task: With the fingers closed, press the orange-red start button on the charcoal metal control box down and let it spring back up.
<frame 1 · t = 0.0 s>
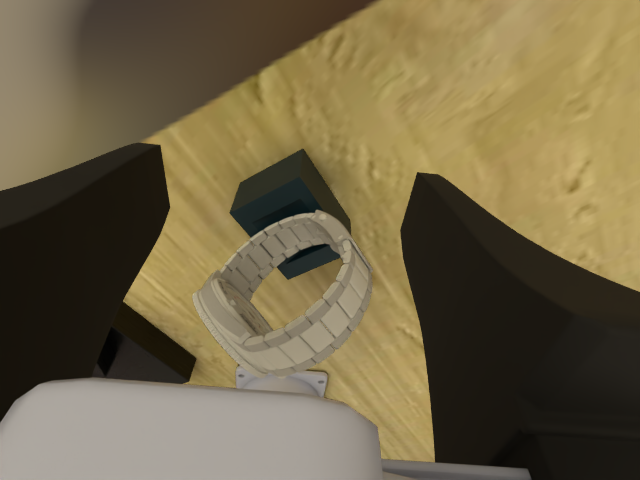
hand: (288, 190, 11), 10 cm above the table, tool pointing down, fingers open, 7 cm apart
control box: (101, 338, 32), on the table
watch: (296, 201, 24), on the table
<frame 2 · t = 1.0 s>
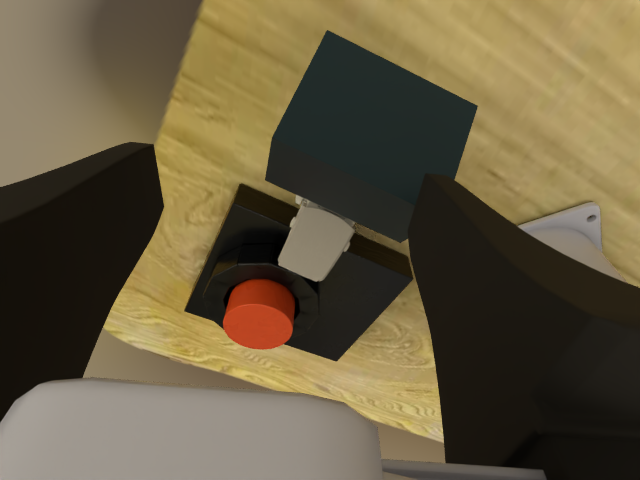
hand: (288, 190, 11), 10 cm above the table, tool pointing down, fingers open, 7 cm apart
control box: (296, 273, 27), on the table
button: (260, 314, 23), point 5 cm above the table, slide at 0.1 cm
watch: (387, 115, 12), point 8 cm above the table, touching control box, gripper
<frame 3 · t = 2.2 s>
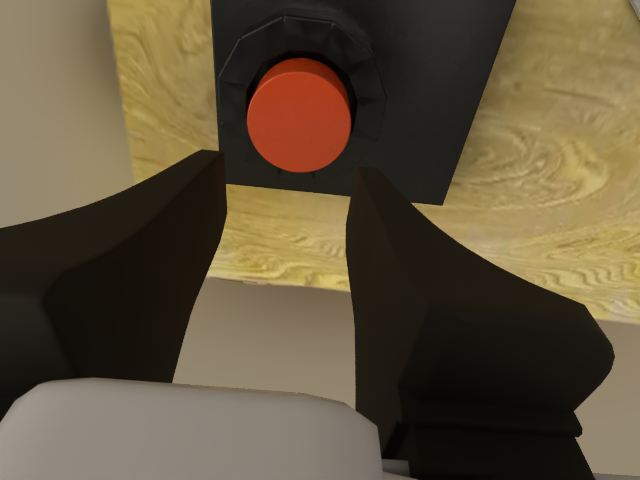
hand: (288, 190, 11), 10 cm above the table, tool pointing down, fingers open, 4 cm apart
control box: (345, 87, 19), on the table
button: (300, 116, 16), point 5 cm above the table, slide at 0.1 cm
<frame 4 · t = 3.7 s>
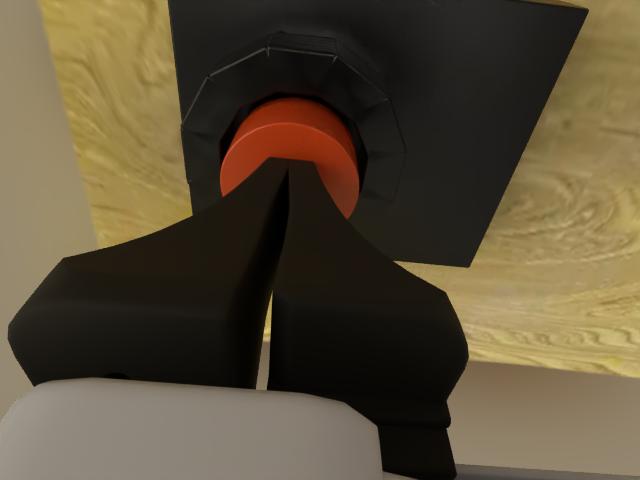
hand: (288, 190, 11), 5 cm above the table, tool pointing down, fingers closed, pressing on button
control box: (350, 125, 16), on the table
button: (292, 173, 12), point 4 cm above the table, slide at -0.2 cm, touching gripper
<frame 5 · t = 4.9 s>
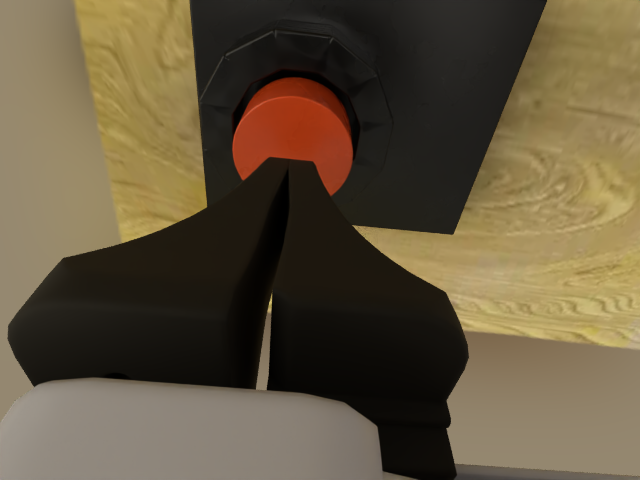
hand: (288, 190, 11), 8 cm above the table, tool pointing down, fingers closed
control box: (346, 105, 17), on the table
button: (294, 144, 14), point 5 cm above the table, slide at 0.1 cm
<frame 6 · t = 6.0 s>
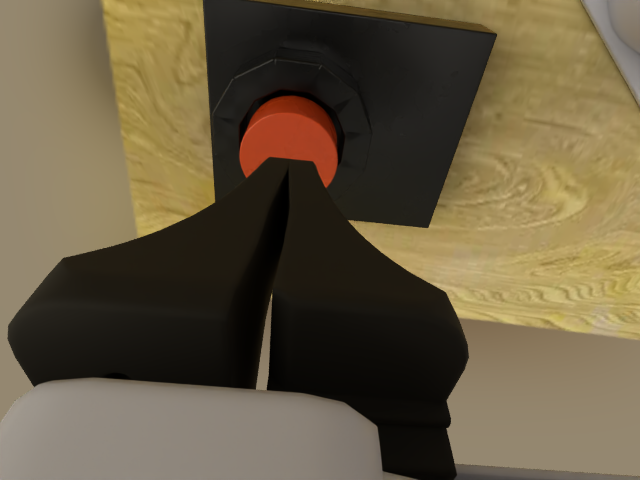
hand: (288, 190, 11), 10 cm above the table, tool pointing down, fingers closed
control box: (335, 116, 20), on the table
button: (290, 150, 17), point 5 cm above the table, slide at 0.1 cm
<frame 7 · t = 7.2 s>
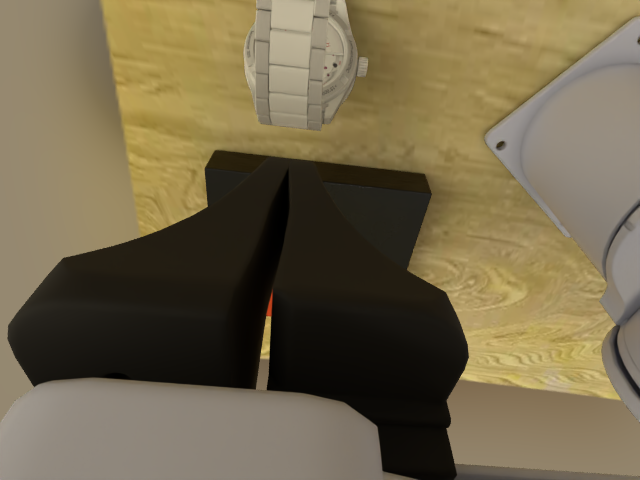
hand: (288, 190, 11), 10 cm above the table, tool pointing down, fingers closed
control box: (312, 231, 25), on the table
button: (272, 278, 21), point 5 cm above the table, slide at 0.1 cm
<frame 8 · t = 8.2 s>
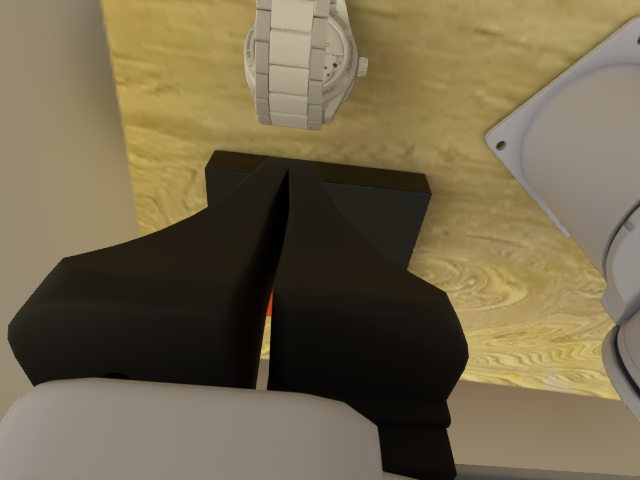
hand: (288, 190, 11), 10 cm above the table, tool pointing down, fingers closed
control box: (312, 231, 25), on the table
button: (272, 278, 21), point 5 cm above the table, slide at 0.1 cm
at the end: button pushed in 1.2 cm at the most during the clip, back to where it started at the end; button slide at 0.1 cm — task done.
